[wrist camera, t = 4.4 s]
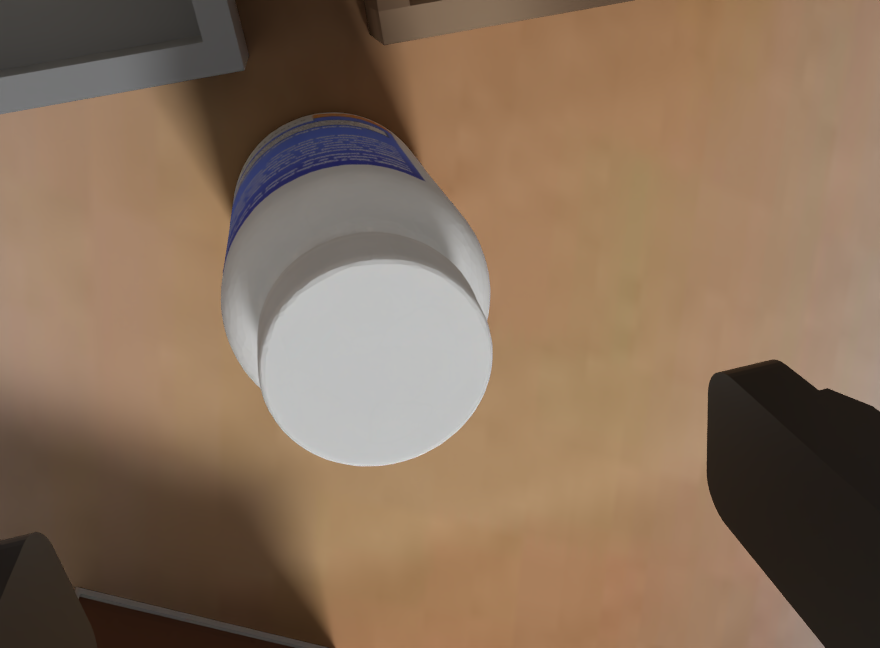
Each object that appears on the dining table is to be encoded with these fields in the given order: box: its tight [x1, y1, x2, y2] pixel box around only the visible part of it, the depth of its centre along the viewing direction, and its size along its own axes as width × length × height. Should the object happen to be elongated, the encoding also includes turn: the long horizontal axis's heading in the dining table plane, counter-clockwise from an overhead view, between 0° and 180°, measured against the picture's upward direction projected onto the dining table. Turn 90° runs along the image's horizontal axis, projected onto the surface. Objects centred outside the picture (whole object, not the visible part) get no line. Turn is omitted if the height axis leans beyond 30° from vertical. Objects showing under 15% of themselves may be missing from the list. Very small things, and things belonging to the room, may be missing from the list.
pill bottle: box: [221, 112, 492, 466], centre depth 17 cm, size 5×5×10 cm
